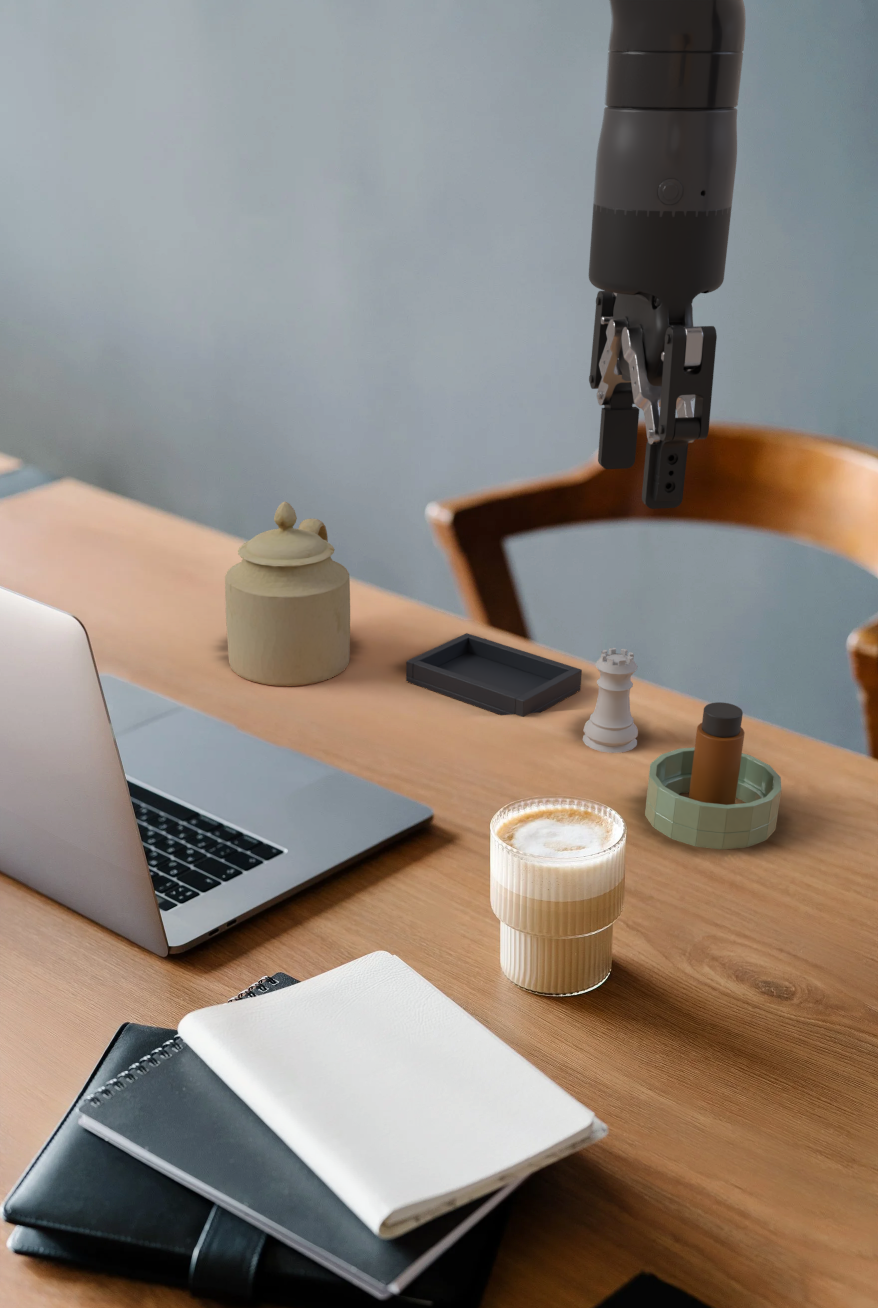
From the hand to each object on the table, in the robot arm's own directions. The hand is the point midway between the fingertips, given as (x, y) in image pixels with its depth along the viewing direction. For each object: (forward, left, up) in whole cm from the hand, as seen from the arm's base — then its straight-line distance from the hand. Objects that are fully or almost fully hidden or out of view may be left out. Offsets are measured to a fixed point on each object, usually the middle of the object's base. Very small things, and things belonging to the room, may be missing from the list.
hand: (637, 486), depth 84 cm
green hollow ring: (-8, -3, -26) cm, 28 cm away
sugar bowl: (+18, -40, -26) cm, 51 cm away
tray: (+1, -30, -26) cm, 40 cm away
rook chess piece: (-6, -17, -26) cm, 32 cm away
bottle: (-8, -3, -26) cm, 27 cm away
